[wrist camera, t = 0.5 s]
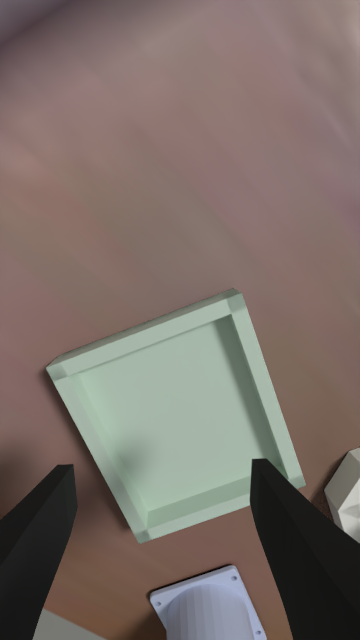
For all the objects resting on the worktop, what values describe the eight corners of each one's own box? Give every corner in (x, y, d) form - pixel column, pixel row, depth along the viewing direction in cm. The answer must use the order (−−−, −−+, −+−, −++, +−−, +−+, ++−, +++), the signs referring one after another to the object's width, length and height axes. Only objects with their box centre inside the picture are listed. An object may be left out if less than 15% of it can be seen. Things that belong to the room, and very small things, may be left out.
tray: (292, 463, 23) (306, 485, 21) (141, 516, 24) (139, 544, 22) (233, 288, 20) (241, 292, 18) (59, 355, 20) (45, 367, 18)
